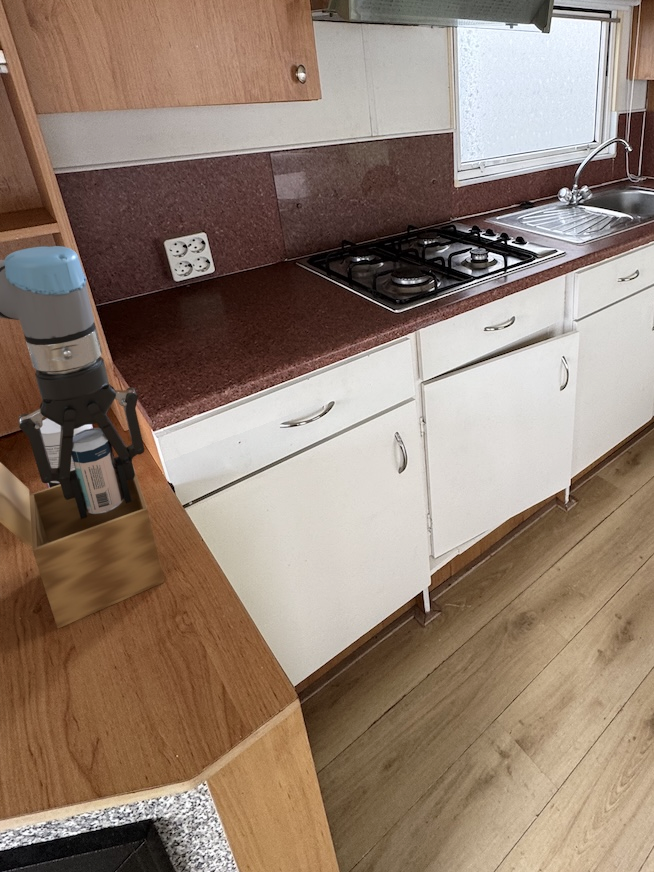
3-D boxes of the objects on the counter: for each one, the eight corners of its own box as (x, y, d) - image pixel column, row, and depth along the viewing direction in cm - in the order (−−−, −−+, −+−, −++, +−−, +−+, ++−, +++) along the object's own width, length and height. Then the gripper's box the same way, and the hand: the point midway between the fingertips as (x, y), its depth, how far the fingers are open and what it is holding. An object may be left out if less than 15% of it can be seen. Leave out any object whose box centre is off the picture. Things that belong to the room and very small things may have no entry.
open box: (57, 628, 79) (32, 550, 74) (51, 566, 89) (29, 494, 85) (164, 582, 87) (147, 508, 82) (147, 529, 97) (131, 461, 92)
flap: (32, 545, 74) (29, 547, 74) (29, 489, 84) (26, 491, 84) (-3, 514, 71) (-6, 517, 71) (-2, 460, 81) (-5, 462, 81)
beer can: (132, 497, 87) (116, 428, 83) (106, 518, 82) (88, 447, 78) (104, 492, 88) (87, 424, 84) (77, 513, 83) (58, 443, 79)
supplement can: (43, 498, 104) (21, 426, 98) (94, 474, 110) (75, 405, 105) (65, 515, 100) (44, 441, 94) (116, 489, 106) (98, 418, 101)
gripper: (-20, 393, 69) (30, 547, 77) (150, 355, 80) (178, 494, 88) (-18, 370, 75) (28, 516, 83) (141, 337, 85) (168, 470, 93)
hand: (105, 504), depth 85 cm, fingers closed on beer can, 5 cm apart
